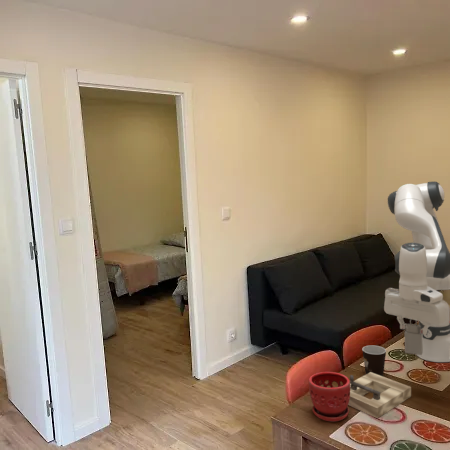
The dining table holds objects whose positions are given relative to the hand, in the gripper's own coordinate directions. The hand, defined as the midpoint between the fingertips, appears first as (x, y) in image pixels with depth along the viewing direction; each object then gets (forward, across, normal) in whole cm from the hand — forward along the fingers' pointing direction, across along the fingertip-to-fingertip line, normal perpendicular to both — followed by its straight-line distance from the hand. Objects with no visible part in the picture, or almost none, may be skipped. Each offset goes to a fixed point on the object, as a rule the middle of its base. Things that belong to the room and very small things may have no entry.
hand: (413, 331), depth 152 cm
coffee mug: (+24, -20, +6) cm, 31 cm away
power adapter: (+8, 0, 0) cm, 8 cm away
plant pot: (+24, -13, -29) cm, 40 cm away
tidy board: (+23, -9, -10) cm, 27 cm away
